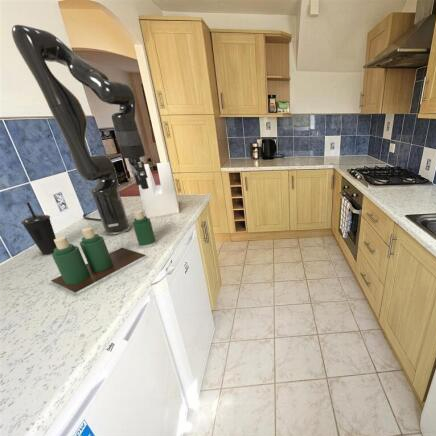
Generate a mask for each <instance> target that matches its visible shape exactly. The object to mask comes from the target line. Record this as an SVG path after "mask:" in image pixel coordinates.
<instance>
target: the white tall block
mask: <svg viewBox="0 0 436 436" xmlns="http://www.w3.org/2000/svg"><path fill="white" fill-rule="evenodd" d="M144 166H145V170H146V174H147V176H148V177H147V179H146V180H147V184H148V189H142V188H141V185H138V189H139V197H140V199H141V204H142V207H143V210H144V211H143V212H144V214H145V216H146V217H147V218H149V219H150V218H156V217H163V216H168V215H169V216H170V215H175V214H180V203H179V198H178V194H177V190H176V185H175V180H174V176H173V171H172V168H171V164H170V161H167V162H165V161H164V162H156V168H157V172H158V173H157V174H158V179H159V183H160V184H157V185H156V182H155V179H154V176H153V173H152V170H151V167H150V164H149V163H144ZM141 175H143V174H141Z"/></svg>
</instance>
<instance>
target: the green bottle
mask: <svg viewBox="0 0 436 436" xmlns="http://www.w3.org/2000/svg"><path fill="white" fill-rule="evenodd" d="M133 212H134V215H135V218H134V219H133V221H132V222H131V224H132V227H133V231H134V234H135V236H136V237H135V238H136V240H137V243H138V246H142V247H143V246H149V245H151V244H154V243H155V242H156V241H157V239H156V236H155V232H154V229H153V225H152V222H151V219H150V218H147V217H146V215H144V211H143V210H142V209H138V210H135V211H133Z"/></svg>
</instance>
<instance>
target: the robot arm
mask: <svg viewBox="0 0 436 436" xmlns="http://www.w3.org/2000/svg"><path fill="white" fill-rule="evenodd" d="M11 35H12V39H13V42H14V45H15V47H16V49H17V50H18V53H19V54H20V56H21V57H22V59H23V61H24V63H25V64H26V66H27V68H28V69H29V71H30V74H31V75H32V76H33V77H34V79H35V81H36V83H37V85H38V87H39V89H40V91H41V92H42V95H43V97H44V99H45V101H46V103H47V106H48V108H49V110H50V113H51V114H52V117H53V118H54V120H55V122H56V124H57V126H58V128H59V130H60V132H61V134H62V136H63V139H64V140H65V143H66V145H67V148H68V151H69V153H70V156H71V159H72V162H73V164H74V167H75V170H76V171H77V173H78V174H79V176H80V177H81V178H82V179H83V180H85V181H88V182H92V181H97V183H96V184H95V186H94V187H92V188H91V190H90V193H91V196H92V199H93V201H94V204H95V207H96V210H97V213H98V215H99V218H93V217H87V216H86V213H85V214H84V213H83V214H84V215H83V214H82V217H83V218H84V219H86V220H91V221H100V222H101V224H102V226H103V229H104V233H105V235H108V236H115V235H116V236H117V235H121V234H124V233H126V232H128V231H130V230H131V225H130V222H129V219H128V216H127V213H126V210H125V206H124V203H123V200H122V197H121V194H120V191H119V186H120V185H119V181H118V177H117V172H116V168H115V166H114V163H113V161H112V160H111V158H109V157H108V156H107V155H105V154H94V155H93V154H92V155H90V153H89V150H88V148H87V145H86V134H87V131H88V130H87V128H88V119H87V115H86V112H85V110H84V109H83V106H82V104H81V102H80V100H79V98H77V96H75V94H74V93H73V92H72V91H70V89H68V87H66V86H65V85H64V84H63V83H62V82H61V81H60V80H59V79H58V78H57V77H56V76H55V75H54V73H53V72H52V71H51V69H50V67H49V66H48V64H47V62H49V63H58V64H60V65H63V66H65V67H67V69H68V72H69V73H70V75H71V76H72V77H73V78H74V79H75V80H76V81H77V82H78V83H81V84H82V85H83V86H85V87H86V88H88V89H89V90H91V91H92V92H93V94H94V95H95V96H96V97H97V98H98V99H99V100H100V101H101V102H103V103H105V104H108V105H113V106H118V107H119V108H118V111H117V112H114V113H112V114H111V121H112V124H113V128H114V131H115V137H116V138H115V139H116V141H117V144H118V148H119V151H120V155H121V157H122V158H123V159H127V160H128V164H129V168H130V171H131V174H132V176H133V177H134V181H135V183H136V185H137V186H139V185H141V188H142V189H148V184H147V180H146V179H147V177H148V176H147V174H146V170H145V166H144V164H145V162H144V161H142V160H141V158H143V157H145V156H146V152H145V148H144V144H143V140H142V137H141V133H140V131H139V128H138V123H137V121H136V96H135V93H134V90H133V89H132V88H131V86H130V85H129V84H127V83H125V82H122V81H121V82H120V81H112V80H109V77H108V76H107V75H106V74H105V73H104V72H103V71H102V70H100V69H98V68H96V67H95V66H94V65H92V64H90V63H89V62H87V61H86V60H84V59H83V58H81V57H80V56H79V55H78V54H77V53H75V52H74V51H73V50H72V49H71V48H70V47H69V46H67V44H65V43H64V42H63V41H62V40H60V38H59V37H57V36H55V34H53V33H51V32H50V31H47V30H44V29H39V28H36V27H32V26H27V25H24V24H15V25H13V26H12V27H11ZM141 174H143V175H141Z"/></svg>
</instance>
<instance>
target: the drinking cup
mask: <svg viewBox="0 0 436 436" xmlns="http://www.w3.org/2000/svg"><path fill="white" fill-rule="evenodd" d="M26 206H27V208H28V210H29V212H30V214H31V216H28V217H26V218H25V219H23V220H21V221H20V224H21V225H22V226H23V227H24V228H25V230H26V232H27V233H28V234H29V236H30V238H31V239H32V240H33V242H34V243H35V245H36V246H37V248H38V249H39V251H40V252H41V254H42V255H52V253H53V252H54V249H55V248H57V246H56V244H55V242H54V239H56V238H57V237H56V235H55V231H54V228H53V225H52V221H51V216H50V215H48V214H35V212H34V209H33V208H32V205H31V204H30V202H26Z"/></svg>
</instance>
